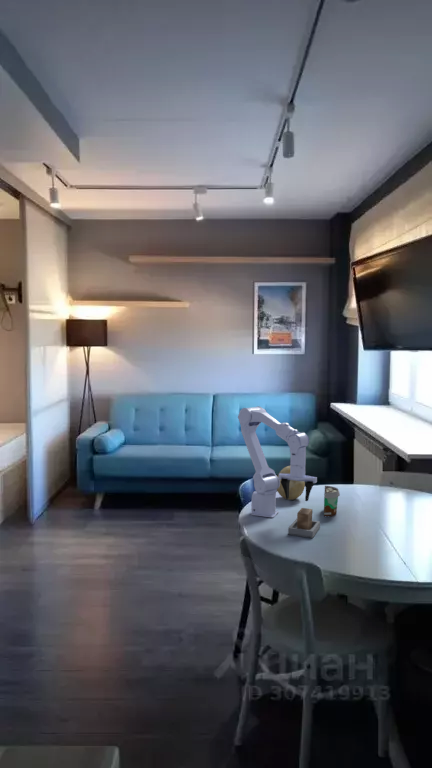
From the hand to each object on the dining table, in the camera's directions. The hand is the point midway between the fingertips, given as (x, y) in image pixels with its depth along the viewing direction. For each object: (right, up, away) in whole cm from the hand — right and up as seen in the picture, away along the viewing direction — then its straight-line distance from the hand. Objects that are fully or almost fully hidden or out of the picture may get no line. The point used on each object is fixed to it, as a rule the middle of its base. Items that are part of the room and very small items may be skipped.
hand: (297, 499), depth 220 cm
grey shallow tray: (+1, -10, -9) cm, 13 cm away
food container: (+16, -9, +14) cm, 23 cm away
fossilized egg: (+2, -7, +34) cm, 34 cm away
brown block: (+2, -10, -8) cm, 13 cm away
